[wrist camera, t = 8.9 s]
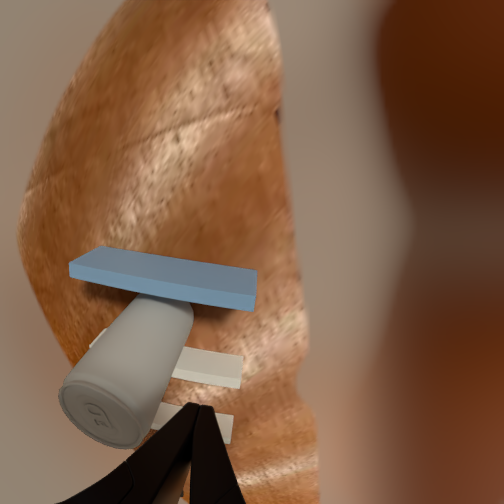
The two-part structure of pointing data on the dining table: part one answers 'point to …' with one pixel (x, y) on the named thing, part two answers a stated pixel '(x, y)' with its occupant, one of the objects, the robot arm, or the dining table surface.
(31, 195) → the dining table surface
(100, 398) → the beverage can
